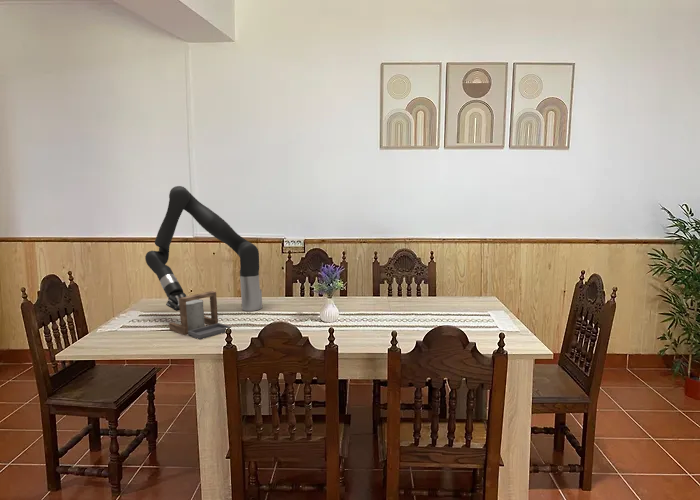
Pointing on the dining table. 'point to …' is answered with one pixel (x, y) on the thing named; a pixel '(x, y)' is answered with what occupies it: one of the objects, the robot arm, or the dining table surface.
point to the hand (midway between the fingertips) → (187, 316)
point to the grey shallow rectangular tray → (208, 331)
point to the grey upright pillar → (195, 314)
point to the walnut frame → (183, 312)
